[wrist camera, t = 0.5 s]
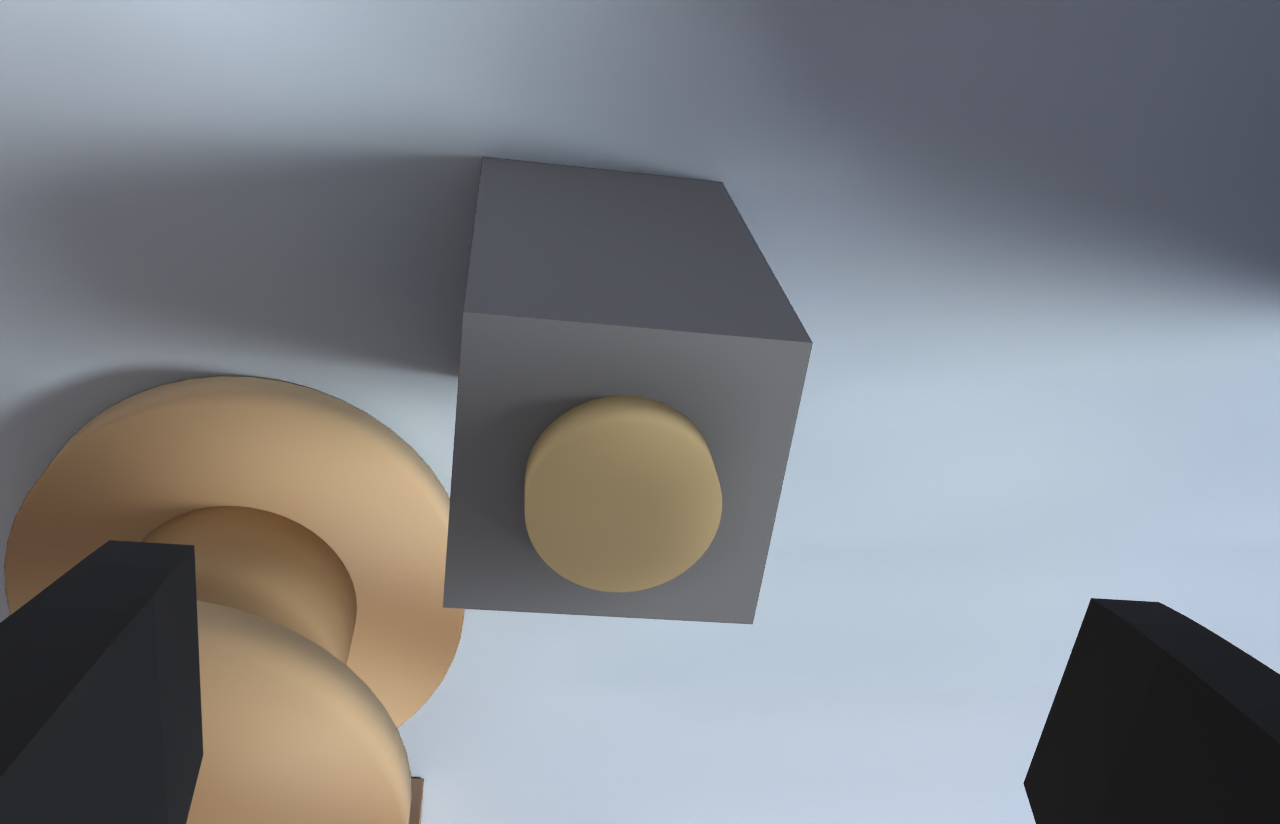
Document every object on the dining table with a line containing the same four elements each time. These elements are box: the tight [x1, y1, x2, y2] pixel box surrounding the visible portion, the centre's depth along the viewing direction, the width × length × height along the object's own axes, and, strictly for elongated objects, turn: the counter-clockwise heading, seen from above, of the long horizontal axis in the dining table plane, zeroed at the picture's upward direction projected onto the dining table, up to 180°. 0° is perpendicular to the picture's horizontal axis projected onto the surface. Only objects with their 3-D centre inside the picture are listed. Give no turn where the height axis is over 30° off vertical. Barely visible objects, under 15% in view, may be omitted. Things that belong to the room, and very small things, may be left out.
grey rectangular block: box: [443, 157, 812, 624], centre depth 15 cm, size 4×4×7 cm
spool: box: [4, 376, 465, 824], centre depth 17 cm, size 7×7×6 cm
